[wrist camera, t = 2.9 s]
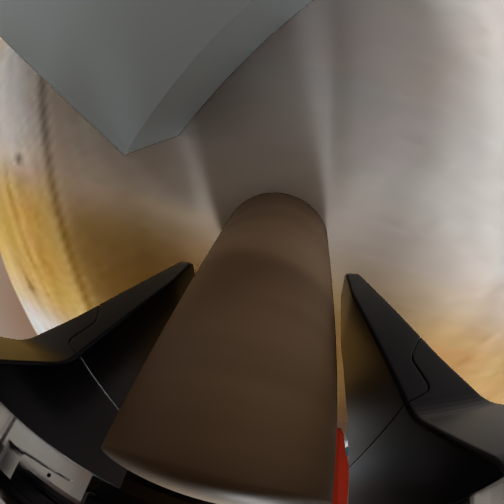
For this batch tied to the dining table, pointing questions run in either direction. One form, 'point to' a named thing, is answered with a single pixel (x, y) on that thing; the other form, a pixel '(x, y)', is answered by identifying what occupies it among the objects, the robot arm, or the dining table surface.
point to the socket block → (139, 56)
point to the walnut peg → (243, 369)
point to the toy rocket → (341, 471)
